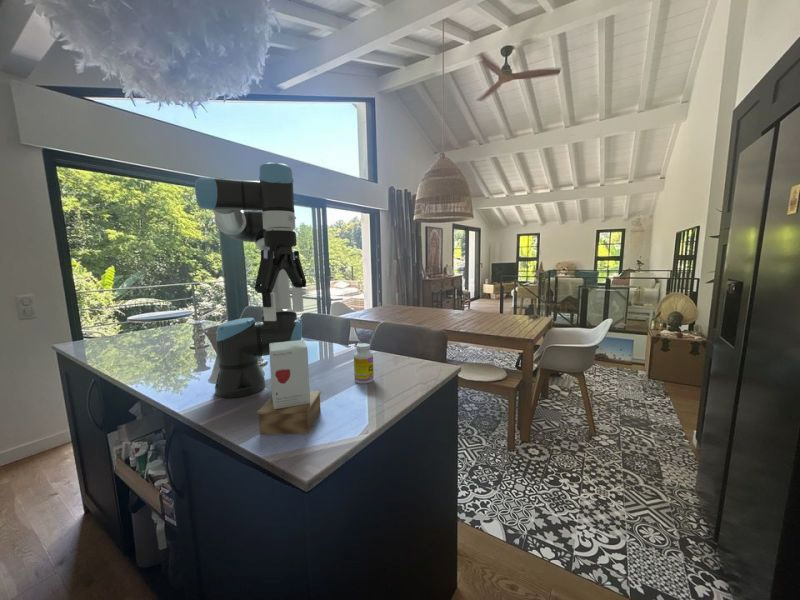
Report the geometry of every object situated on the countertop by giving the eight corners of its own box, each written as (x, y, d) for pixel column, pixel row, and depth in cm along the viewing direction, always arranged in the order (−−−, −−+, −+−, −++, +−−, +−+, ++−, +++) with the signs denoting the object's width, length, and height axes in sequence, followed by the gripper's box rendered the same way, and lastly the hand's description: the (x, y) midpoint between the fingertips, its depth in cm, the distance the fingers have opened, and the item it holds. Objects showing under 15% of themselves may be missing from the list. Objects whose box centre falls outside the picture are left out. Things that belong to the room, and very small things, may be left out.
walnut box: (259, 434, 83) (257, 411, 83) (277, 412, 96) (276, 391, 95) (309, 434, 83) (307, 410, 82) (321, 411, 95) (320, 391, 95)
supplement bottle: (370, 384, 115) (369, 347, 113) (352, 383, 116) (350, 347, 114) (376, 377, 121) (374, 342, 120) (358, 377, 122) (357, 342, 121)
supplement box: (273, 410, 83) (268, 351, 81) (272, 397, 91) (268, 342, 89) (311, 403, 86) (307, 346, 84) (306, 391, 95) (303, 339, 93)
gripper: (264, 225, 70) (271, 325, 73) (316, 233, 95) (319, 308, 97) (232, 226, 72) (240, 325, 74) (291, 234, 96) (295, 308, 99)
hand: (285, 315), depth 86 cm, fingers open, 13 cm apart
